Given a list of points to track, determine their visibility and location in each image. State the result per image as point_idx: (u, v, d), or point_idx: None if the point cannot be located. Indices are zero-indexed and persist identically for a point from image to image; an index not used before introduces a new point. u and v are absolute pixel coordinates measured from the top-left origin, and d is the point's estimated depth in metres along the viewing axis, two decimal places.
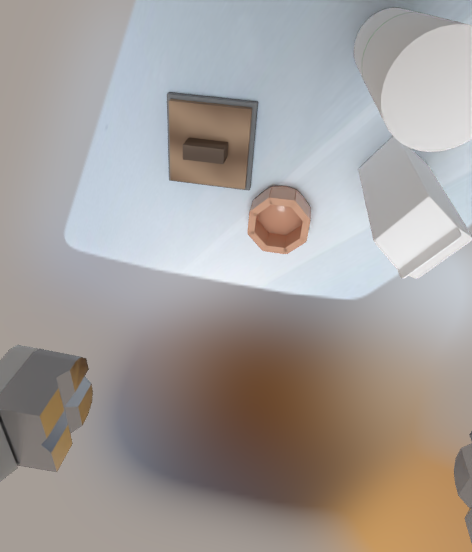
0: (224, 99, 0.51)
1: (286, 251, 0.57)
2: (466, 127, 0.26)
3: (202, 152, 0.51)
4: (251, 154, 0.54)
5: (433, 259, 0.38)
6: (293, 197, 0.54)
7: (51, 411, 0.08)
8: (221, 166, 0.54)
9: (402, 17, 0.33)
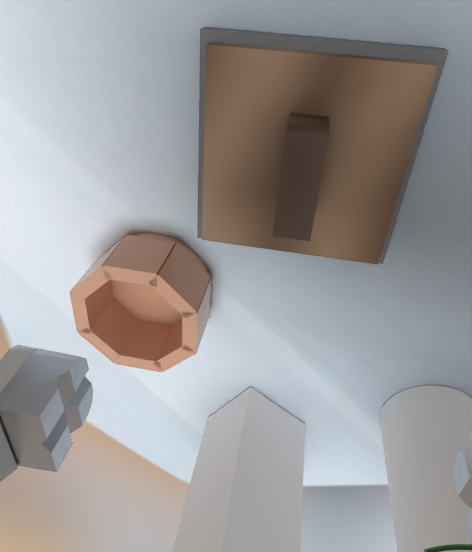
0: None
1: (83, 332, 0.27)
2: None
3: (304, 188, 0.19)
4: None
5: None
6: (200, 340, 0.27)
7: (51, 411, 0.08)
8: (252, 193, 0.23)
9: None
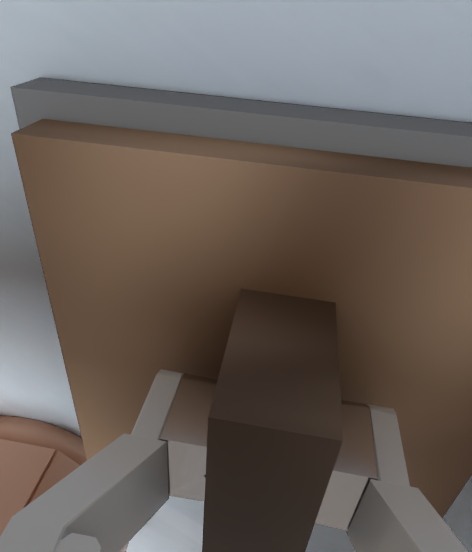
0: None
1: None
2: None
3: (272, 522, 0.07)
4: None
5: None
6: None
7: None
8: None
9: None
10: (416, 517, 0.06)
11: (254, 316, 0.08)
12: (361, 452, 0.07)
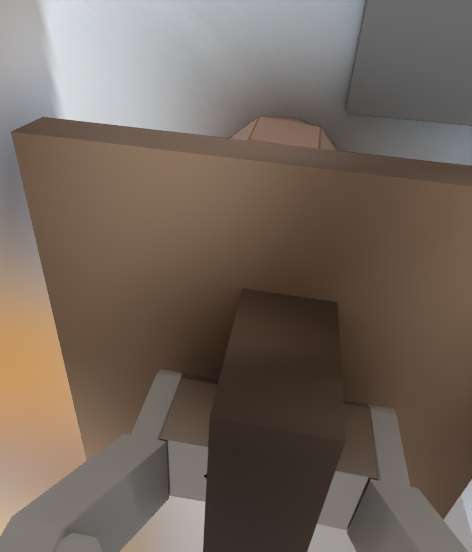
0: None
1: None
2: None
3: (273, 523, 0.07)
4: (447, 120, 0.21)
5: None
6: None
7: None
8: None
9: None
10: (416, 516, 0.06)
11: (255, 316, 0.07)
12: (361, 452, 0.07)
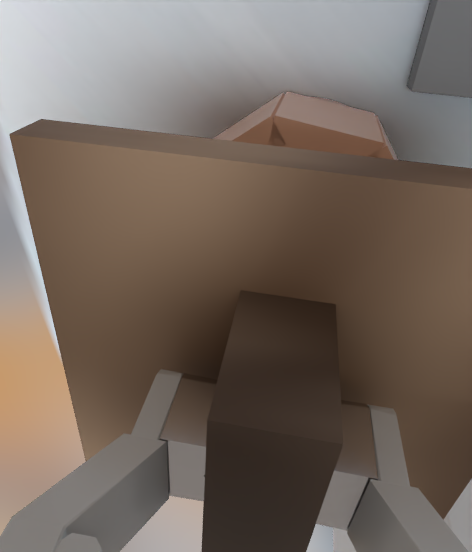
0: None
1: None
2: None
3: (272, 526, 0.07)
4: None
5: None
6: None
7: None
8: None
9: None
10: (416, 517, 0.06)
11: (254, 318, 0.07)
12: (361, 452, 0.07)
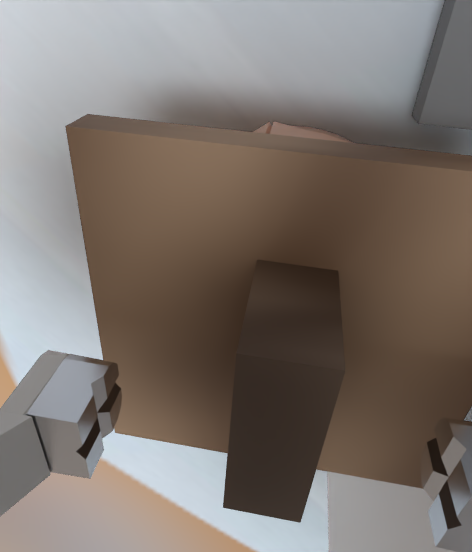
0: None
1: None
2: None
3: (286, 451, 0.08)
4: None
5: None
6: None
7: (87, 417, 0.08)
8: (194, 379, 0.12)
9: None
10: None
11: (269, 280, 0.09)
12: None
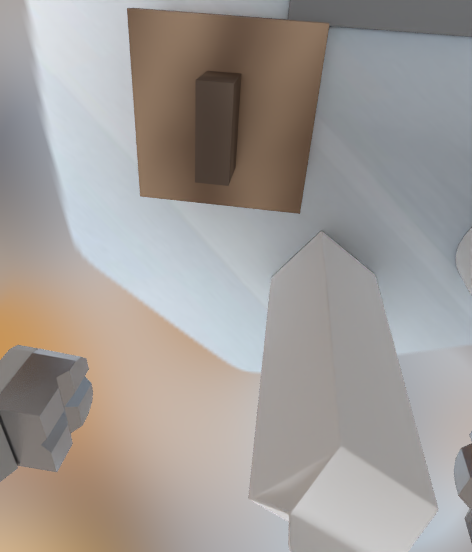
0: None
1: None
2: None
3: (218, 135, 0.21)
4: (373, 26, 0.24)
5: None
6: None
7: (51, 411, 0.08)
8: (181, 149, 0.25)
9: None
10: None
11: (211, 73, 0.22)
12: None
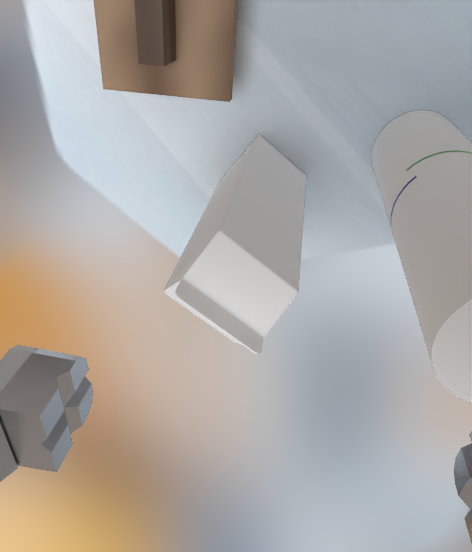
0: None
1: None
2: (462, 377, 0.18)
3: (152, 21, 0.27)
4: None
5: None
6: None
7: (51, 411, 0.08)
8: (133, 45, 0.31)
9: None
10: None
11: None
12: None
